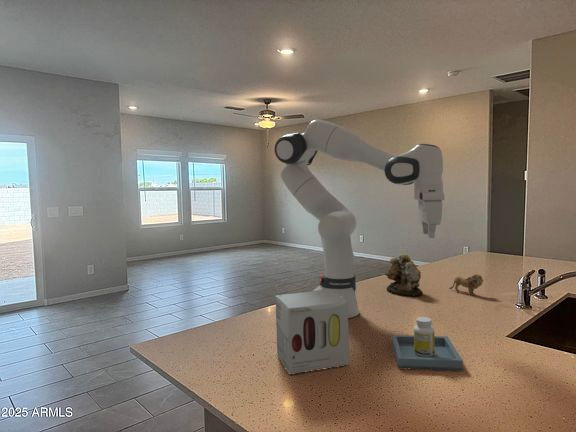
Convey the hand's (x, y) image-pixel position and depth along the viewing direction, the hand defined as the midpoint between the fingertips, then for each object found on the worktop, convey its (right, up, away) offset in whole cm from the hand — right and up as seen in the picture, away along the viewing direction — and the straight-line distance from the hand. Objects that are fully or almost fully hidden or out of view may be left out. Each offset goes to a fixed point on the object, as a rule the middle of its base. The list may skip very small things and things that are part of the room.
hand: (428, 235), depth 128 cm
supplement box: (-40, -34, -20) cm, 56 cm away
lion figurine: (+30, -27, +39) cm, 56 cm away
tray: (-8, -33, -19) cm, 39 cm away
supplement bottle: (-8, -32, -19) cm, 38 cm away
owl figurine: (+5, -27, +44) cm, 52 cm away
